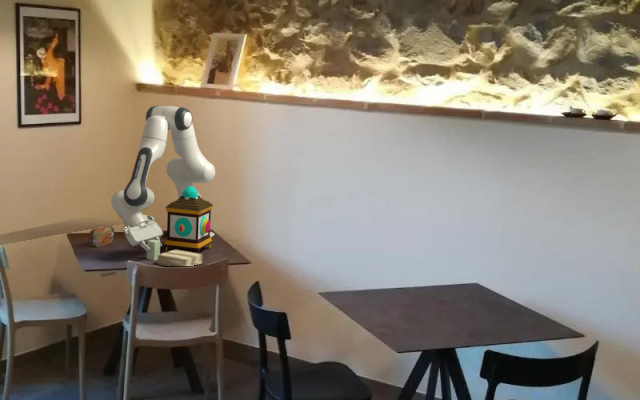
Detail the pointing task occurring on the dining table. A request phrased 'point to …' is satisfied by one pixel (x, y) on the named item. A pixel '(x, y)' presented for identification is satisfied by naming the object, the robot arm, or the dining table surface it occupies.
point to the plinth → (179, 258)
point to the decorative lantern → (188, 222)
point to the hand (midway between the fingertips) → (154, 248)
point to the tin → (101, 236)
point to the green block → (153, 249)
